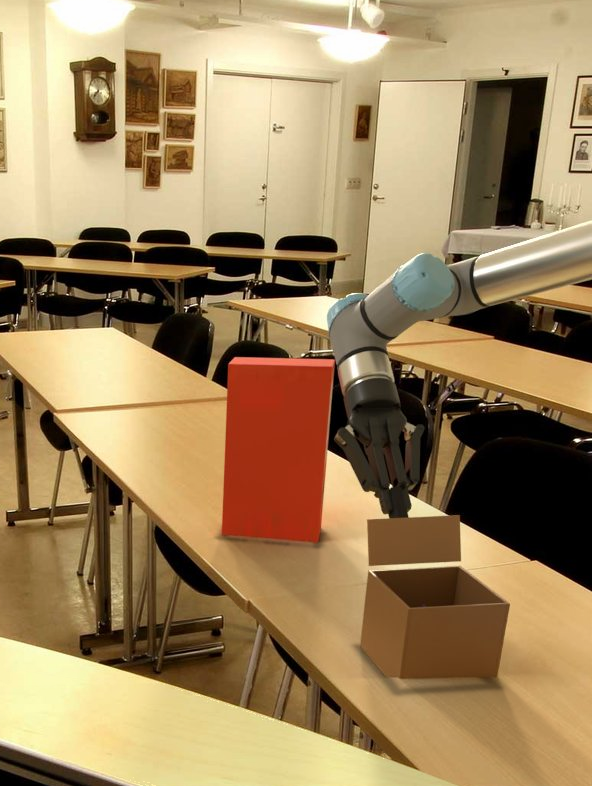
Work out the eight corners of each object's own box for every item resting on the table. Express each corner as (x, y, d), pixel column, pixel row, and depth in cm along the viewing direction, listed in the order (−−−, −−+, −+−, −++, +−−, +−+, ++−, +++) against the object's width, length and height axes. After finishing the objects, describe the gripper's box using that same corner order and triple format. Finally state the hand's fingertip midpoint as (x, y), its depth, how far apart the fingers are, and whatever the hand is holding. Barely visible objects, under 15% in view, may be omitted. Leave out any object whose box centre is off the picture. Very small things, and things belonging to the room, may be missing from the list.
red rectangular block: (228, 523, 176) (235, 356, 163) (320, 531, 170) (335, 358, 158) (221, 538, 169) (227, 364, 156) (317, 546, 163) (331, 367, 151)
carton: (359, 646, 126) (368, 570, 122) (449, 641, 127) (460, 565, 123) (397, 691, 115) (408, 609, 110) (495, 685, 115) (510, 603, 111)
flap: (369, 566, 122) (368, 565, 122) (461, 561, 123) (460, 561, 123) (367, 519, 122) (366, 519, 122) (459, 515, 122) (458, 515, 123)
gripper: (402, 402, 139) (437, 542, 130) (318, 406, 138) (347, 546, 129) (421, 373, 132) (459, 518, 123) (333, 376, 131) (365, 523, 122)
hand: (402, 533), depth 126 cm, fingers closed
